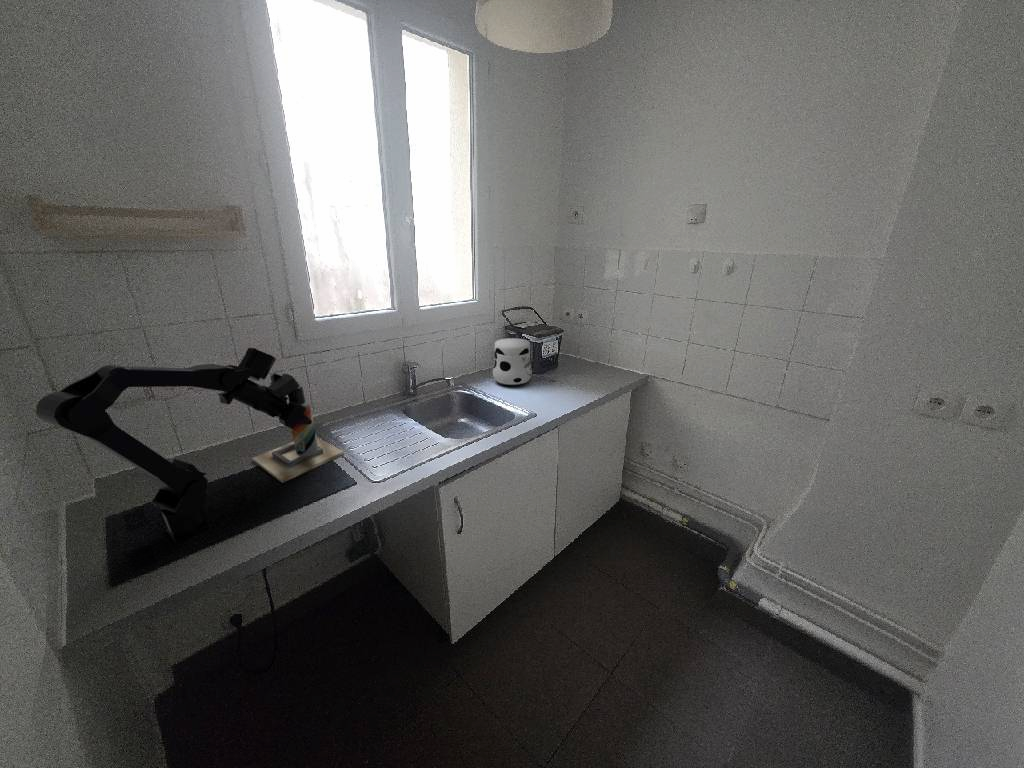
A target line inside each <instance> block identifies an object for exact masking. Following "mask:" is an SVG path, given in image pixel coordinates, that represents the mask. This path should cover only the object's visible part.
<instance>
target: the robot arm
mask: <svg viewBox="0 0 1024 768" xmlns="http://www.w3.org/2000/svg"><path fill="white" fill-rule="evenodd" d="M276 361H277V358H276V357H275V356H274V355H271V354H269V353H267V352H265V351H262V350H258V349H257V348H255V347H248V348H247V350H246V351H245V355H244V356H243V357H242V359H241V360H240V363H239V364H238V365H233V364H228V365H221V364H215V363H206V364H198V365H192V366H190V367H159V366H158V367H155V366H154V367H153V366H152V367H151V366H119V365H117V364H116V365H114V364H106V365H105V366H101V367H100V368H98V369H96V370H95V371H94V372H92V373H91V374H89V375H87V376H85V377H83V378H80V379H78V380H77V381H73V382H72V383H70V384H68V385H67V386H65V387H63V388H62V389H61V390H60V391H56V392H52V393H49V394H46V395H45V396H43V397H42V398H41V399H39V401H38V402H37V404H36V407H35V408H36V410H35V414H36V416H37V417H38V418H39V419H40V420H41V421H43V422H45V423H48V424H50V425H53V426H55V427H58V428H60V429H63V430H66V431H68V432H71V433H74V434H77V435H79V436H82V437H84V438H87V439H89V440H91V441H92V442H94V443H95V444H97V445H98V446H101V447H103V448H104V449H106V450H107V451H109V452H110V453H112V454H114V455H115V456H117V457H119V458H121V460H124V461H125V462H127V463H129V464H130V465H132V466H133V467H135V468H136V469H138V470H140V471H142V472H143V473H145V474H146V475H148V476H149V477H150V478H151V480H152V482H153V483H154V484H155V485H156V486H157V487H158V488H159V489H158V491H157V492H156V493H155V496H153V497H154V498H153V499H152V500H151V504H152V505H153V506H155V507H156V508H157V509H162V510H161V515H162V517H163V520H164V522H165V524H166V526H167V528H166V531H167V533H168V534H169V535H170V536H171V538H172V539H173V541H174V542H175V543H178V542H181V541H183V540H185V539H187V538H189V537H191V536H193V535H195V534H198V533H200V532H201V531H203V530H206V529H207V528H209V527H211V523H210V522H209V520H210V516H209V514H208V513H209V512H208V510H207V508H206V506H205V499H206V491H207V488H208V483H209V480H208V478H207V477H206V474H207V473H206V472H203V471H202V470H199V469H198V468H197V467H196V466H195V465H194V464H192V463H190V462H186V461H183V460H180V459H177V458H174V460H173V461H172V462H171V461H169V460H168V459H166V458H165V457H164V456H162V455H160V454H159V453H158V452H156V451H155V450H154V449H152V448H150V447H149V446H148V445H146V444H144V443H143V442H142V441H140V440H138V438H135V437H134V436H133V435H131V434H129V433H128V432H126V431H125V430H123V429H122V428H120V427H119V426H117V424H116V423H115V422H114V420H113V418H112V417H111V415H109V413H108V412H107V411H106V410H108V409H109V408H110V407H112V406H113V405H114V404H115V402H116V401H117V400H118V399H119V397H120V396H121V394H122V393H123V392H124V391H125V390H127V389H128V388H150V387H151V388H154V387H156V388H159V387H160V388H161V387H162V388H165V387H166V388H167V387H169V388H170V387H171V388H172V387H194V388H200V389H205V390H213V391H218V392H219V391H220V392H219V393H218V394H217V395H218V398H219V402H220V404H223V405H230V404H231V403H232V402H233V400H234V401H237V402H239V403H241V404H243V405H246V406H247V407H250V408H251V409H254V410H256V411H257V412H261V413H264V414H266V415H268V416H269V417H271V418H275V417H277V418H278V422H279V424H282V425H283V426H284V427H287V428H289V429H290V430H291V429H293V428H294V427H295V426H296V425H310V424H311V423H312V420H311V419H309V418H308V417H307V416H306V415H305V414H304V412H305V411H306V407H304V406H302V405H300V404H298V403H296V402H295V401H293V402H290V403H289V402H288V400H289V399H288V394H289V393H291V392H292V391H293V390H295V389H297V388H298V387H301V386H300V384H299V382H298V381H297V380H296V379H295V377H294V376H292V375H290V374H288V373H282V374H278V373H275V372H273V374H271V375H270V376H269V377H270V385H269V386H266V385H260V384H259V383H257V382H259V381H260V380H266V379H267V377H268V375H269V374H270V372H271V370H272V368H273V367H274V365H275V363H276ZM252 380H253V381H252ZM255 381H257V382H255Z"/></svg>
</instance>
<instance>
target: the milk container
mask: <svg viewBox="0 0 1024 768" xmlns="http://www.w3.org/2000/svg"><path fill="white" fill-rule="evenodd" d="M493 348H494V350H493V351H494V352H493V354H494V363H493V366H492V376H493V379H494V381H495V382H496V383H498V384H499V385H502V386H510V387H512V386H516V387H517V386H522V385H525V384H528V383H529V382H530V381H531V378H532V376H533V375H532V374H533V370H532V369H533V368H532V364H531V343H530V341H529V340H528V339H527V340H526V339H523V338H514V337H513V338H512V337H510V338H501V339H497V340H495V342H494V347H493Z"/></svg>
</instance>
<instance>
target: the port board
mask: <svg viewBox="0 0 1024 768" xmlns="http://www.w3.org/2000/svg"><path fill="white" fill-rule="evenodd" d="M316 438H317V444H318V451H317V452H316V453H315V454H313V455H311V456H306V457H301V456H298V455H297V453H296V449H295V444H294V441H292V442H289V443H287V444H285V445H282V446H279V447H277V448H275V449H272V450H269V451H266V452H264V453H261V454H259V455H257V456H253V457H251V459H252V460H251V461H252V462H253V463H255V464H256V465H258V466H259V467H260V468H262V469H263V470H264V471H265V472H267V473H268V474H270V475H271V476H273V477H274V478H275V479H277V480H278V481H279V482H281V483H282V484H283V483H286V482H287V481H290V480H292V479H294V478H296V477H299V476H301V475H302V474H305V473H308V472H309V471H311V470H313V469H315V468H319V466H322V465H325V464H326V463H329V462H330V461H332V460H335V459H338V458H340V457H341V456H343V455H345V454H344V450H341V449H339V448H338V447H335V446H334V445H332V444H330V443H329V442H327V441H325V440H323V439H321V438H320V437H317V436H316Z"/></svg>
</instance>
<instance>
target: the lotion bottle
mask: <svg viewBox="0 0 1024 768" xmlns="http://www.w3.org/2000/svg"><path fill="white" fill-rule="evenodd" d="M305 397H306V396H305V393H304V388H303V386H299V387H298V388H297V389H295V390H293V391H292V392H291V393H289V394H288V395H287V398H288V399H287V400H288V403H290V402H293V401H295V402H296V403H298V404H300V405H302V406H304V407H306V411H305V412H304V414H305V415H306V416H307V417H308V418H309V419H311V420H312V423H311V424H310V425H296V426H295V427H294V428H293V429H291V428H290V430H291V435H292V440H293V442H294V444H295V449H296V453H297V455H298V456H301V457H306V456H311V455H313V454H315V453H316V452H317V451H318V444H317V438H316V437H317V434H316V429H315V423H314V419H313V414H312V408H311V404H310V401H308V400H307V399H306V398H305Z"/></svg>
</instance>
